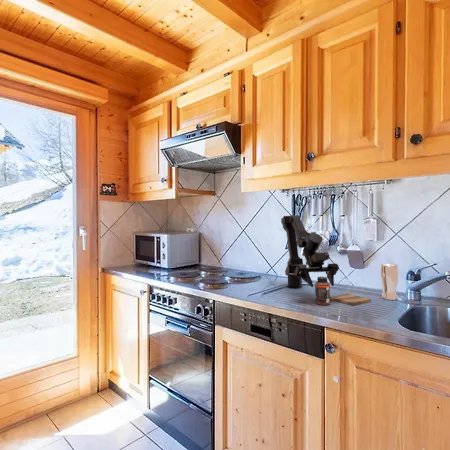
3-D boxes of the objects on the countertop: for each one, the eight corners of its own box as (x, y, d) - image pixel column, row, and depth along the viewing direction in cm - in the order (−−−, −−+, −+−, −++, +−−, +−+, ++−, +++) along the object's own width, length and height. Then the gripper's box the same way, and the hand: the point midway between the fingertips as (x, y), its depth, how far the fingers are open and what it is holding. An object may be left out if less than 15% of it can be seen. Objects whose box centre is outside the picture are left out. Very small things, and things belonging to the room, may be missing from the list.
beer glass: (377, 297, 139) (376, 264, 139) (388, 295, 142) (388, 263, 142) (390, 300, 133) (389, 266, 133) (402, 299, 135) (401, 265, 135)
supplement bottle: (332, 305, 127) (332, 278, 127) (318, 305, 127) (318, 278, 127) (326, 301, 133) (326, 275, 133) (313, 302, 133) (313, 276, 133)
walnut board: (329, 299, 136) (329, 297, 136) (347, 296, 142) (347, 293, 142) (352, 305, 126) (352, 302, 126) (370, 301, 132) (370, 298, 132)
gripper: (296, 246, 134) (307, 275, 123) (336, 245, 136) (350, 274, 125) (290, 262, 141) (300, 291, 131) (328, 260, 144) (341, 289, 133)
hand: (322, 286), depth 130 cm, fingers open, 9 cm apart
